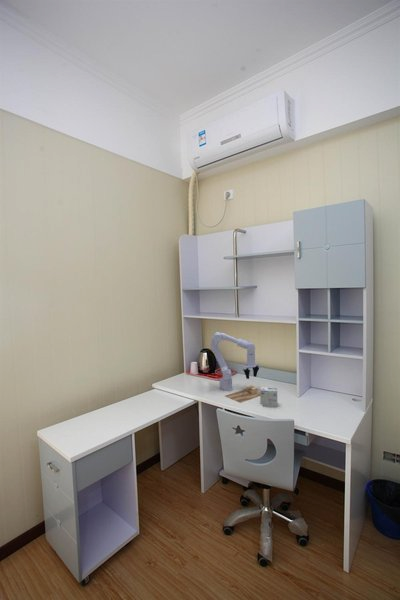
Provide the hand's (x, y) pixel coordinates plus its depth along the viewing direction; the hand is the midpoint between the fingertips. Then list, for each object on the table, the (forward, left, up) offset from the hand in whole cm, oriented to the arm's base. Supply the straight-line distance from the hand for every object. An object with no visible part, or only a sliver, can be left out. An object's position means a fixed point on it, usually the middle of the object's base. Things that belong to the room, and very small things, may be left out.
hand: (251, 377), depth 222 cm
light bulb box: (+25, -10, -10) cm, 29 cm away
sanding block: (+5, -5, -9) cm, 11 cm away
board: (+5, -12, -10) cm, 16 cm away
